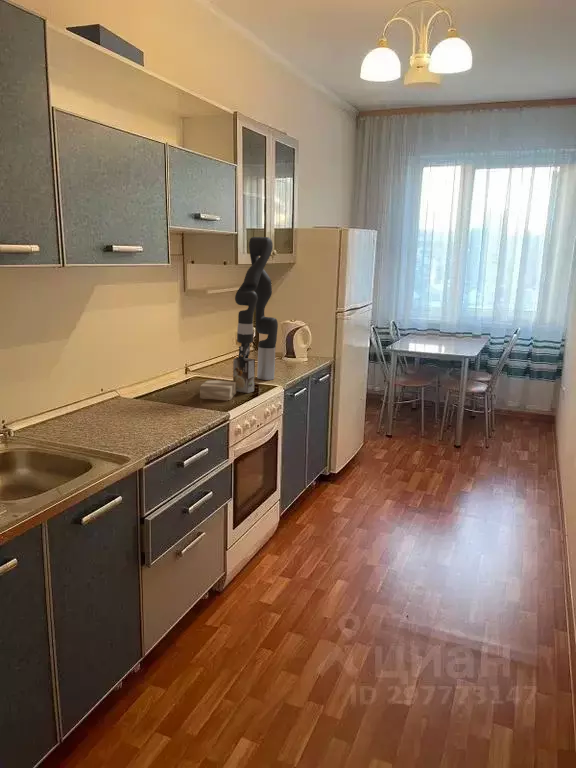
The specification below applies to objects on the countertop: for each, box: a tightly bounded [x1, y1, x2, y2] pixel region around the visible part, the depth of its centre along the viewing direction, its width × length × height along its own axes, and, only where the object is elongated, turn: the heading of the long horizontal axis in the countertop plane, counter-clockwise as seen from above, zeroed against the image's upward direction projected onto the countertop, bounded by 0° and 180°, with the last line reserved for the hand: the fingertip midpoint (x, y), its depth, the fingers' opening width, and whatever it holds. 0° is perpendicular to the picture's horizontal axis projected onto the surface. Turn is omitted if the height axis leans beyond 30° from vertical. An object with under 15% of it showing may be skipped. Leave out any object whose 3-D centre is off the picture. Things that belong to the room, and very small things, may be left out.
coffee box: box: [232, 356, 256, 394], centre depth 278 cm, size 9×6×16 cm
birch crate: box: [199, 379, 237, 401], centre depth 268 cm, size 14×14×6 cm
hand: (243, 365), depth 276 cm, fingers open, 8 cm apart
